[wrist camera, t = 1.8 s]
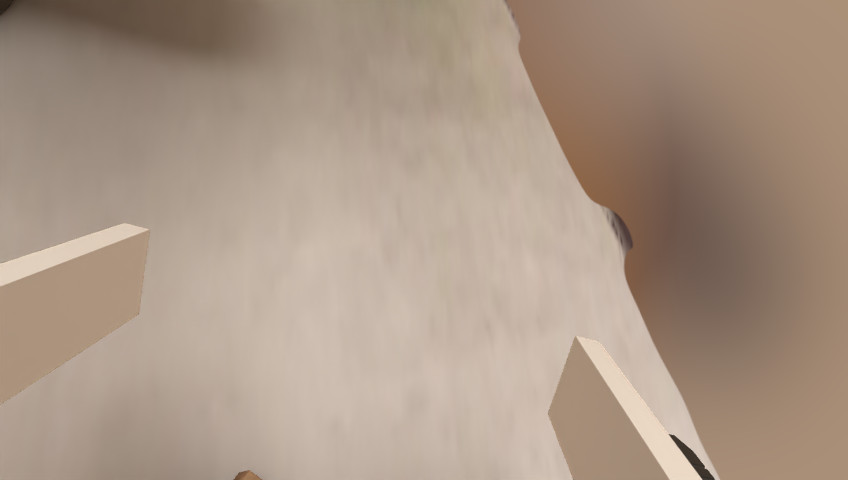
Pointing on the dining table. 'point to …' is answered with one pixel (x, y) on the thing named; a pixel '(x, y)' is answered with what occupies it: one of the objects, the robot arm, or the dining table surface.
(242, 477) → the stand
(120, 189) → the dining table surface
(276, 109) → the dining table surface
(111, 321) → the robot arm
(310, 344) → the dining table surface
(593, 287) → the dining table surface
